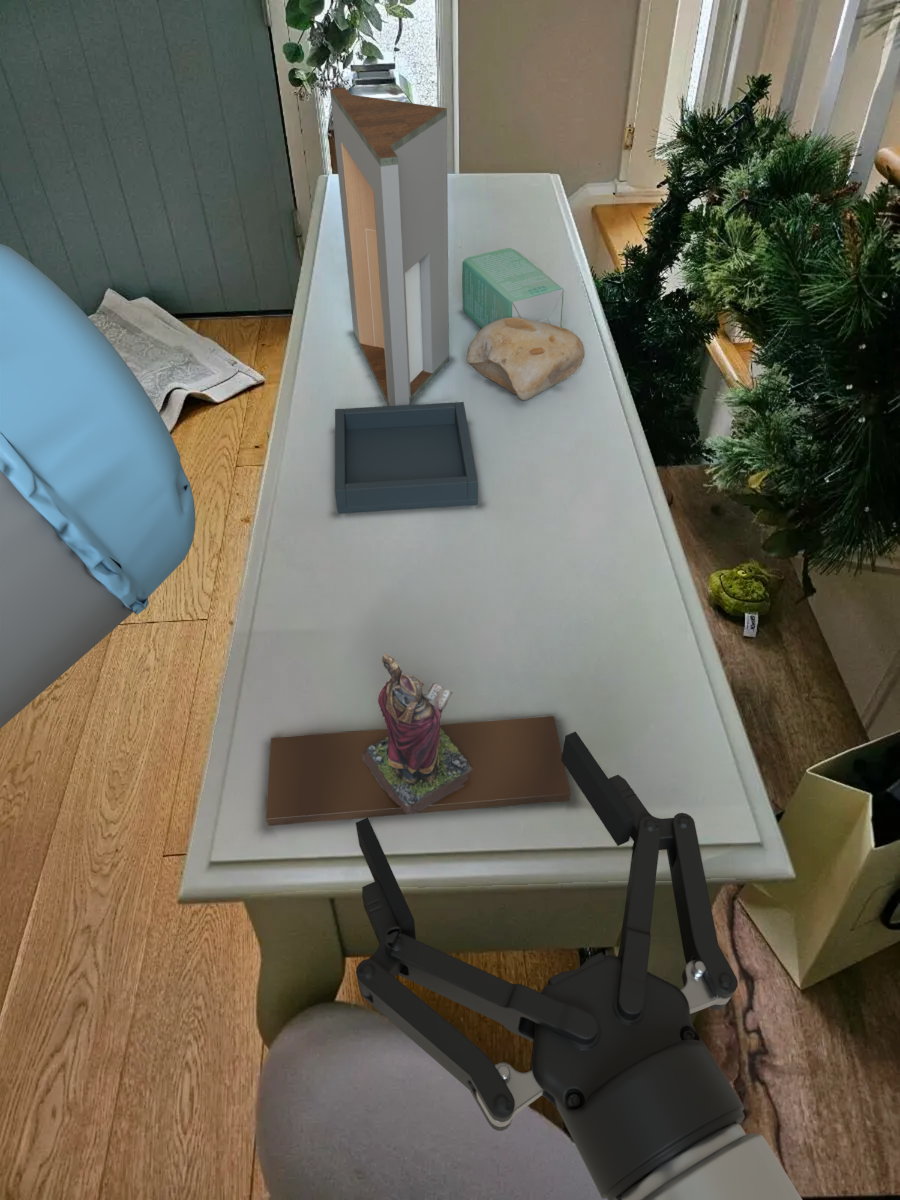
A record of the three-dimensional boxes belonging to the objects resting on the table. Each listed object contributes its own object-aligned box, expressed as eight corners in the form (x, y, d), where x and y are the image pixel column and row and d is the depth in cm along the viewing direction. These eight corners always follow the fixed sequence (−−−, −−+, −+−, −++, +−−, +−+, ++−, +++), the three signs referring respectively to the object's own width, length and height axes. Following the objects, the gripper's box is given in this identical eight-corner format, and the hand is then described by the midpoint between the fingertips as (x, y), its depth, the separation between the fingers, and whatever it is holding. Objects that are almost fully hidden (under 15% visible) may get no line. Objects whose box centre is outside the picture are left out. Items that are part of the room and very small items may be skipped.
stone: (578, 333, 105) (593, 307, 97) (574, 418, 104) (589, 399, 96) (467, 324, 104) (473, 297, 96) (462, 410, 103) (467, 390, 95)
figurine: (404, 821, 61) (395, 724, 52) (359, 755, 65) (344, 654, 56) (478, 778, 63) (482, 678, 54) (431, 717, 67) (428, 614, 58)
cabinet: (353, 334, 110) (329, 88, 89) (425, 322, 112) (418, 79, 91) (396, 424, 96) (380, 158, 76) (478, 409, 98) (483, 145, 78)
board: (267, 826, 62) (265, 819, 61) (273, 744, 66) (271, 737, 66) (569, 801, 63) (570, 793, 62) (553, 723, 68) (554, 715, 67)
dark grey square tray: (337, 514, 85) (334, 490, 83) (337, 431, 95) (335, 408, 93) (477, 505, 86) (478, 481, 84) (463, 424, 96) (463, 401, 94)
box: (509, 297, 116) (511, 243, 110) (561, 344, 108) (566, 288, 102) (460, 310, 114) (460, 255, 108) (509, 359, 105) (512, 302, 100)
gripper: (426, 1331, 37) (278, 901, 50) (867, 1060, 44) (636, 747, 57) (421, 1316, 31) (256, 838, 45) (925, 1010, 39) (655, 677, 52)
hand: (469, 786), depth 51 cm, fingers open, 13 cm apart
